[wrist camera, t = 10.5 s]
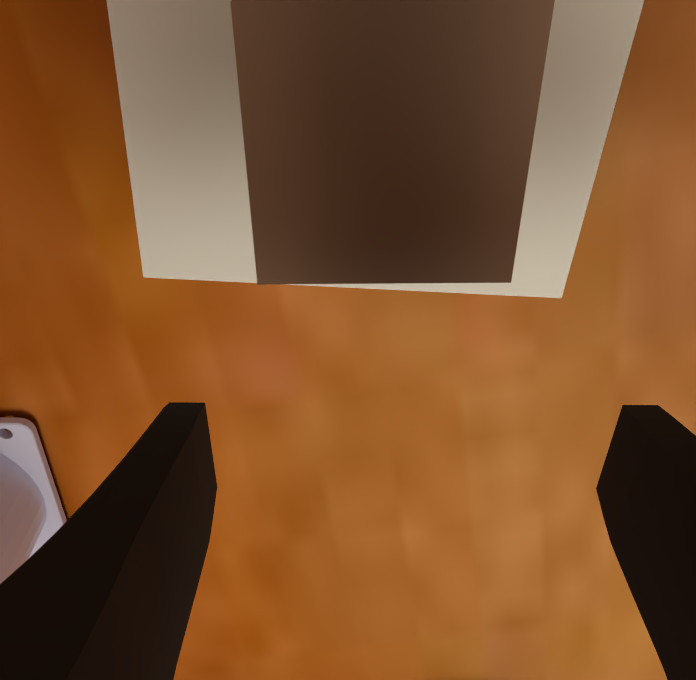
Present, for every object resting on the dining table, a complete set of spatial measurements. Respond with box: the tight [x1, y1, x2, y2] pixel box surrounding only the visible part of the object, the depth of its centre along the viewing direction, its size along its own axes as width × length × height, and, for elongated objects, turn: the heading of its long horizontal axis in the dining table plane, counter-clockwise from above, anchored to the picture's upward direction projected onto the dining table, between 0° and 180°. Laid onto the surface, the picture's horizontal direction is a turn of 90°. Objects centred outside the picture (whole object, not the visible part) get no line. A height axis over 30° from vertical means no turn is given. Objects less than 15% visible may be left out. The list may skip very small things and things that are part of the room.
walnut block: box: [230, 0, 555, 284], centre depth 13 cm, size 5×5×6 cm
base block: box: [107, 0, 644, 298], centre depth 17 cm, size 12×12×3 cm
